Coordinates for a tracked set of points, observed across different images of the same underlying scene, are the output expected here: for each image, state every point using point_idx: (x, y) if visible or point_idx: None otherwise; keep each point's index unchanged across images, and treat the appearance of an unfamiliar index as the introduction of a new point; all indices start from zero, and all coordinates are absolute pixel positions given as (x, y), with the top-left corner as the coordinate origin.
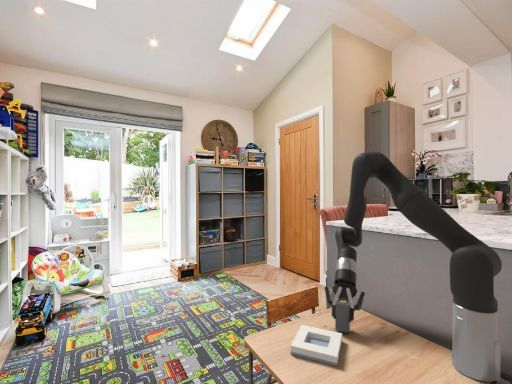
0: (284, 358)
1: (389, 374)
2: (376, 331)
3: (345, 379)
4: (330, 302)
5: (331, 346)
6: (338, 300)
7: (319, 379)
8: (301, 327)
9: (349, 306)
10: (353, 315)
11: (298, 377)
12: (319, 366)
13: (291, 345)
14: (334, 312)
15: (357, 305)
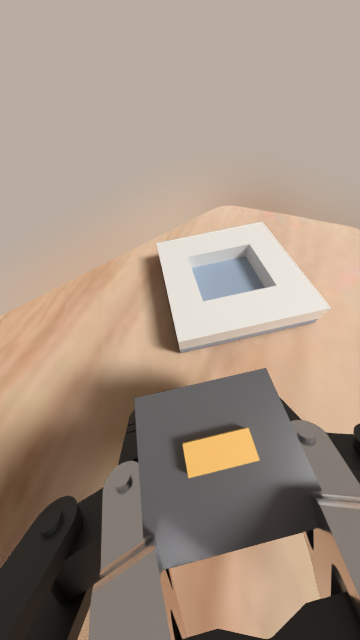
0: None
1: (60, 296)
2: None
3: (139, 246)
4: (354, 441)
5: (181, 264)
6: (298, 499)
7: (176, 227)
8: (313, 293)
9: (138, 415)
10: (128, 427)
11: (206, 215)
12: None
13: (260, 222)
14: None
15: (56, 517)
